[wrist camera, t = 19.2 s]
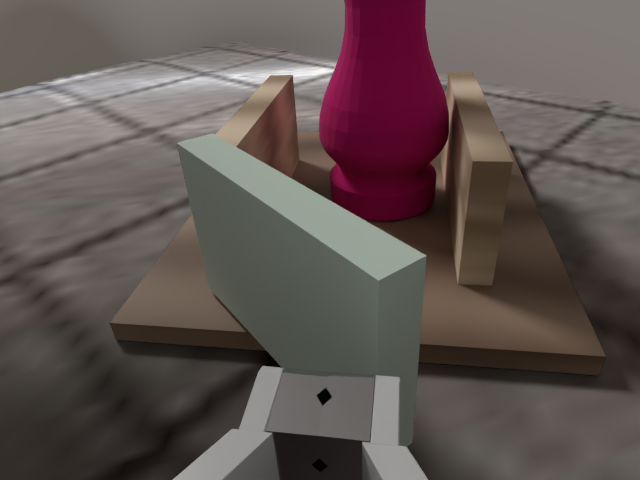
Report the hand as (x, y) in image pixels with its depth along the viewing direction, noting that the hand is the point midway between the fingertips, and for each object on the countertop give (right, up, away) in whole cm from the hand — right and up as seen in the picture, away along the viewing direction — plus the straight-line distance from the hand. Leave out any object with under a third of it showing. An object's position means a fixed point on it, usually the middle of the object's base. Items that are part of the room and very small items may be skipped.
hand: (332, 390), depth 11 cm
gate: (-1, -1, +8) cm, 8 cm away
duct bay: (+2, +4, +19) cm, 19 cm away
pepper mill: (+4, +6, +19) cm, 20 cm away
